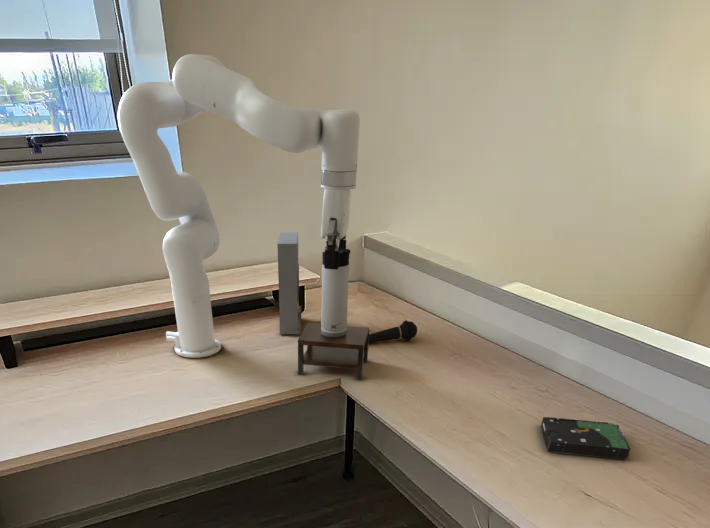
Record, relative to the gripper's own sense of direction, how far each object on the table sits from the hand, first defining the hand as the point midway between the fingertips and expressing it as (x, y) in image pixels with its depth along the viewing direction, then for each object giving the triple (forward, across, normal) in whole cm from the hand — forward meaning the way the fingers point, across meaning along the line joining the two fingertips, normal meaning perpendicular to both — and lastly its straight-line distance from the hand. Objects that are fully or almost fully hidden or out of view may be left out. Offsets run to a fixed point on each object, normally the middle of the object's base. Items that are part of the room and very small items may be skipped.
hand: (335, 263), depth 128 cm
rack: (+26, 0, +1) cm, 26 cm away
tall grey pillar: (+26, -26, -17) cm, 41 cm away
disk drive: (+25, +26, +56) cm, 67 cm away
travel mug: (+17, 0, 0) cm, 17 cm away
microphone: (+26, -20, +11) cm, 35 cm away
